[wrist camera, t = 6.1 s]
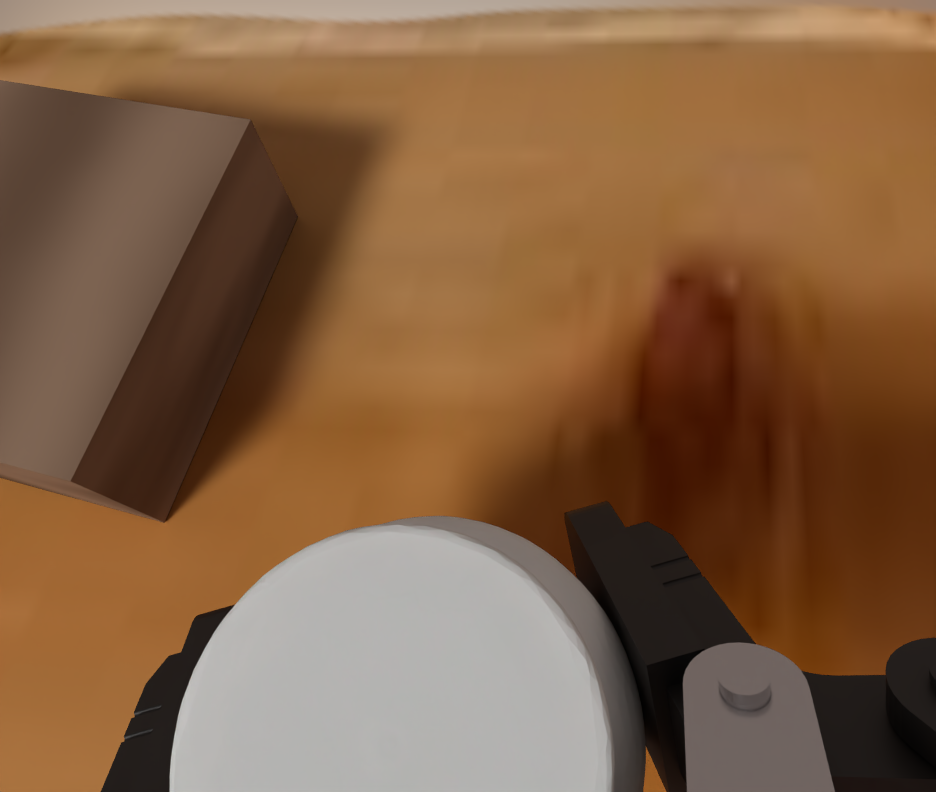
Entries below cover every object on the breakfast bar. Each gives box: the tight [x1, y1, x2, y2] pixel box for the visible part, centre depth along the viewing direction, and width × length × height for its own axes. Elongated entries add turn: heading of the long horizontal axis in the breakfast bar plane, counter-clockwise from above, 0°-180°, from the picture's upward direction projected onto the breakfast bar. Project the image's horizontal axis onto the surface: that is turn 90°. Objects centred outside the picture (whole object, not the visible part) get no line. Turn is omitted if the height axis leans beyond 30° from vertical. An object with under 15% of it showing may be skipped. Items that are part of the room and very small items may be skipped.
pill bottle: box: [170, 516, 646, 792], centre depth 10 cm, size 5×5×10 cm
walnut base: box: [0, 80, 298, 523], centre depth 18 cm, size 10×10×4 cm
